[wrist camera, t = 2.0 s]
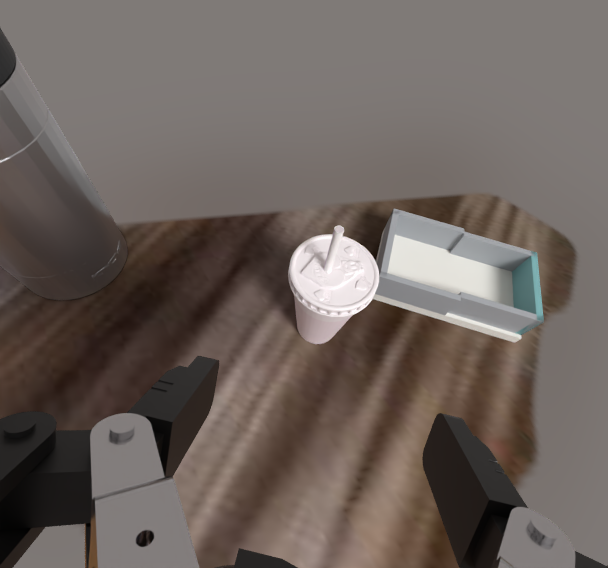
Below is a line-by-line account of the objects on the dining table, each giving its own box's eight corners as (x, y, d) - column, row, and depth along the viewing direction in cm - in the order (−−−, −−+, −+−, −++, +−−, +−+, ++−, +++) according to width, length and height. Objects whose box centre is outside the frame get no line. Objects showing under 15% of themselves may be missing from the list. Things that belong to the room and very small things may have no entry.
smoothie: (277, 299, 32) (284, 191, 20) (341, 291, 33) (383, 185, 21) (288, 363, 29) (304, 282, 17) (358, 352, 30) (419, 269, 18)
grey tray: (367, 297, 33) (379, 276, 30) (382, 233, 38) (393, 208, 34) (514, 342, 32) (544, 326, 29) (511, 271, 37) (536, 249, 33)
